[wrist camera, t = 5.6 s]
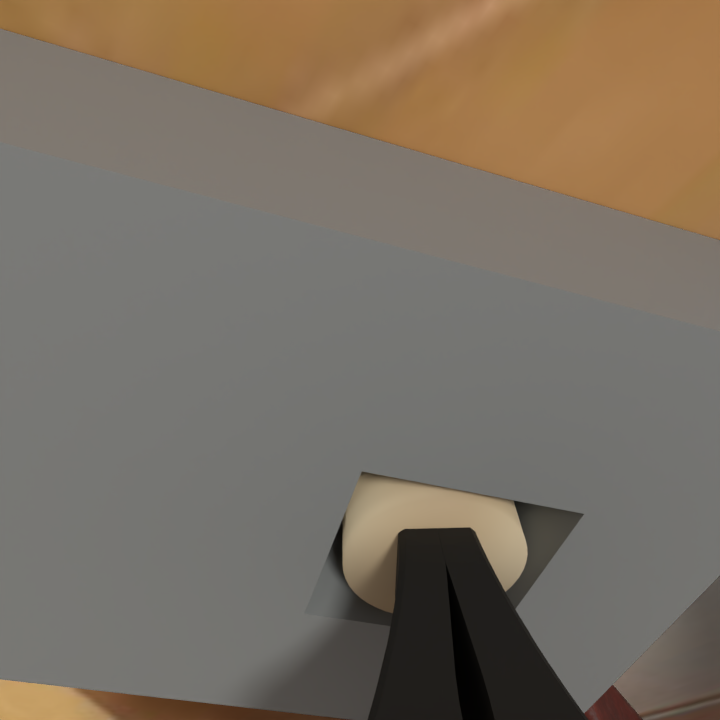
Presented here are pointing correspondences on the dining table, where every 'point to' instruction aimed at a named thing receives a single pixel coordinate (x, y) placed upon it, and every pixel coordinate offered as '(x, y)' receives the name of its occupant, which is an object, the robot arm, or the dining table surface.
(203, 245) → the press block
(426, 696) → the robot arm
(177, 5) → the dining table surface
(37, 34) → the dining table surface
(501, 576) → the beech peg
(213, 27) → the dining table surface
